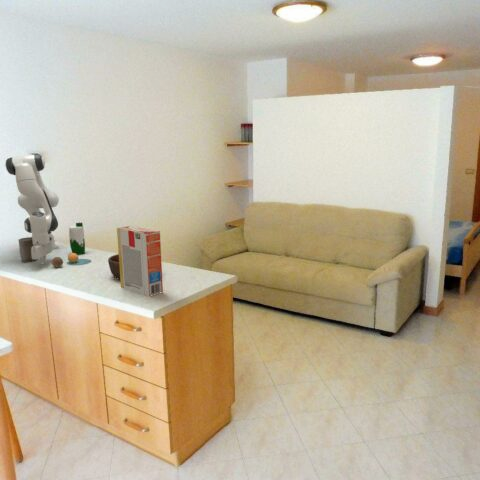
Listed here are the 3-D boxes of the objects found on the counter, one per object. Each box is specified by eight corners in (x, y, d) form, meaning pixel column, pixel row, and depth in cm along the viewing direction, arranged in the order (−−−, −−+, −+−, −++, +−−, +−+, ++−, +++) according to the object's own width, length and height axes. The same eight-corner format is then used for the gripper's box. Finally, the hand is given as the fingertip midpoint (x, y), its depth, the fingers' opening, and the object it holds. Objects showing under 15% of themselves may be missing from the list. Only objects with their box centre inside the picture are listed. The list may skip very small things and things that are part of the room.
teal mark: (66, 260, 280) (66, 260, 280) (90, 258, 285) (90, 258, 285) (67, 266, 268) (67, 265, 267) (92, 263, 273) (92, 263, 273)
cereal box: (162, 292, 219) (159, 231, 213) (149, 296, 213) (145, 233, 207) (134, 283, 234) (130, 225, 228) (120, 287, 228) (116, 228, 222)
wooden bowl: (145, 283, 234) (144, 264, 231) (100, 281, 239) (99, 262, 236) (163, 270, 258) (162, 252, 255) (122, 268, 262) (121, 250, 260)
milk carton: (86, 254, 296) (83, 223, 292) (71, 255, 293) (68, 225, 289) (84, 251, 304) (82, 221, 300) (70, 252, 301) (67, 222, 296)
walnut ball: (63, 259, 263) (66, 262, 269) (55, 253, 264) (57, 256, 269) (56, 268, 261) (59, 270, 267) (48, 262, 262) (51, 264, 267)
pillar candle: (41, 258, 286) (38, 235, 283) (32, 262, 277) (29, 238, 274) (26, 258, 287) (23, 235, 284) (17, 262, 278) (14, 238, 275)
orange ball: (69, 250, 276) (79, 253, 278) (66, 260, 276) (76, 262, 279) (69, 253, 270) (79, 255, 272) (66, 263, 271) (77, 265, 273)
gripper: (38, 244, 255) (40, 268, 258) (53, 236, 275) (55, 258, 278) (27, 244, 256) (29, 268, 258) (42, 236, 276) (45, 259, 278)
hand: (43, 263), depth 269 cm, fingers closed
